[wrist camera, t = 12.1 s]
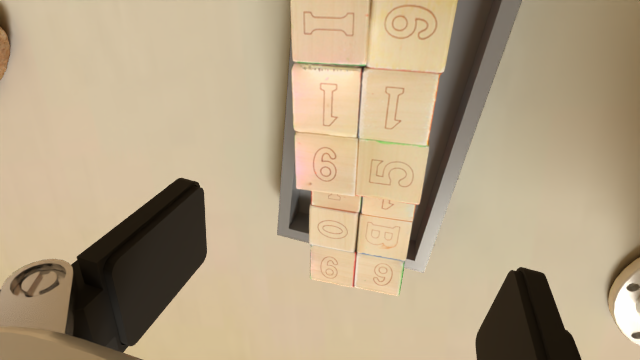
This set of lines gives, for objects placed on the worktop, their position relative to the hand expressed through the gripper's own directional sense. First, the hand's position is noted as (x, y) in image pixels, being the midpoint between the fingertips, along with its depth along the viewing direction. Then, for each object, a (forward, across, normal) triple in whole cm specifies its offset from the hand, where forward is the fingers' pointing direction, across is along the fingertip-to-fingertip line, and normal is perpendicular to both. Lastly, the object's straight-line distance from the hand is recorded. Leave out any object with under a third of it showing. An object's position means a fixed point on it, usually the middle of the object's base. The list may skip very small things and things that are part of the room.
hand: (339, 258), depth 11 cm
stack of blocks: (+19, +1, 0) cm, 19 cm away
